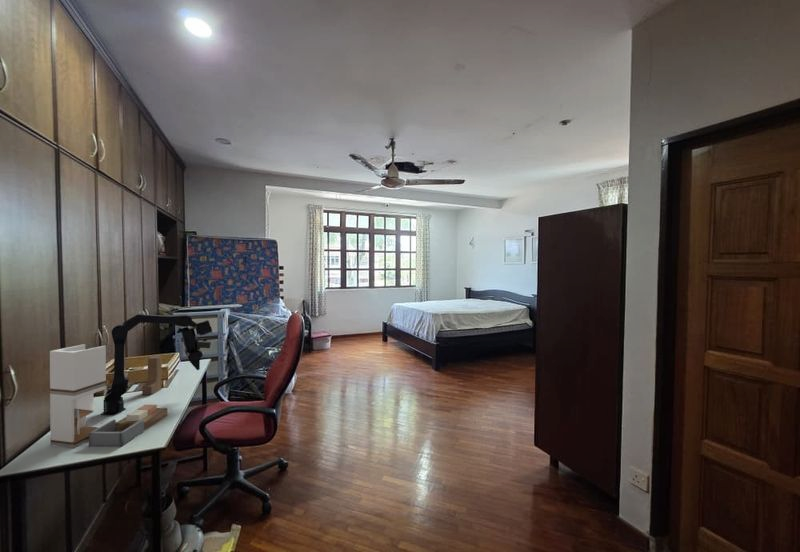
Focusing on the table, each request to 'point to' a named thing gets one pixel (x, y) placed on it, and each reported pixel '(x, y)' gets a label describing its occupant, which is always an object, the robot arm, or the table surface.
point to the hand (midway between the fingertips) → (197, 367)
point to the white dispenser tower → (74, 392)
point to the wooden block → (153, 376)
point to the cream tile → (136, 415)
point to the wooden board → (148, 420)
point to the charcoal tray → (114, 434)
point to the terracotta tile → (148, 408)
